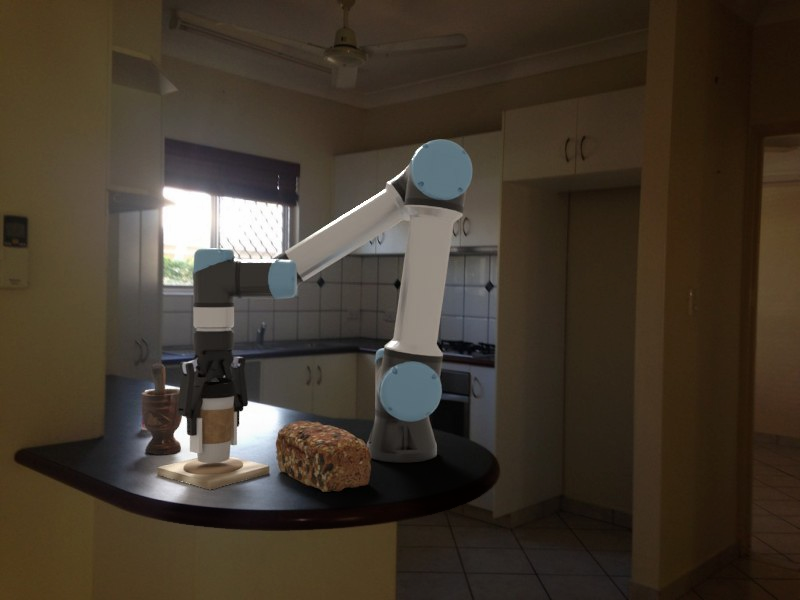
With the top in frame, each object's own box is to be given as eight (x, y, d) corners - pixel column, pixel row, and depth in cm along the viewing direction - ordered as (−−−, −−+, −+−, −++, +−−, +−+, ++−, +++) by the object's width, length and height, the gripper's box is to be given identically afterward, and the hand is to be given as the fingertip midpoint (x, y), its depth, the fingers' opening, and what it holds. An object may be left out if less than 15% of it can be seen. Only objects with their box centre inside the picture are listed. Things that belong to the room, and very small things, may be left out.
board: (269, 473, 134) (269, 464, 134) (209, 490, 122) (209, 480, 122) (216, 460, 143) (216, 451, 143) (157, 474, 132) (157, 465, 132)
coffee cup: (224, 465, 128) (224, 385, 128) (182, 463, 130) (182, 383, 129) (243, 455, 136) (243, 379, 136) (203, 452, 138) (204, 377, 138)
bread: (274, 472, 135) (274, 421, 135) (321, 464, 142) (321, 415, 141) (323, 496, 120) (323, 439, 120) (373, 485, 127) (374, 431, 126)
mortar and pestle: (191, 456, 147) (191, 362, 146) (148, 461, 142) (148, 364, 142) (178, 445, 157) (178, 357, 156) (138, 449, 152) (138, 359, 152)
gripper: (242, 326, 143) (242, 436, 143) (155, 331, 126) (155, 455, 127) (267, 327, 138) (267, 441, 139) (180, 333, 122) (180, 461, 122)
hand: (213, 447), depth 133 cm, fingers closed on coffee cup, 7 cm apart
